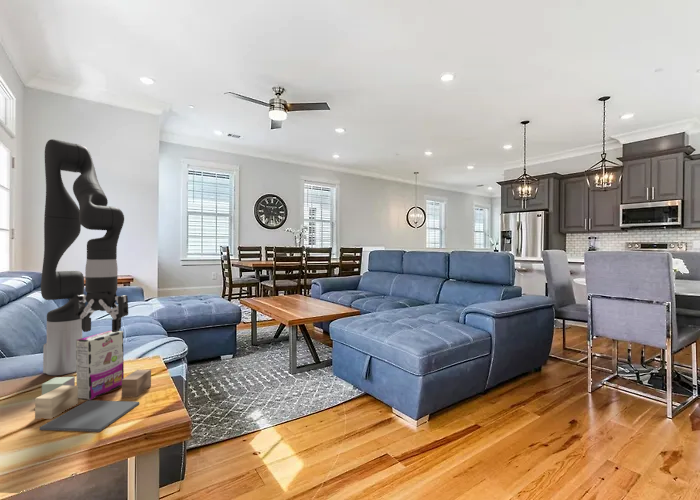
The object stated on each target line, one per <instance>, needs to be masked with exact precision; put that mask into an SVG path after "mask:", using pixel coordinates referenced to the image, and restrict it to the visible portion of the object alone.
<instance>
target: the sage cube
mask: <svg viewBox="0 0 700 500" xmlns="http://www.w3.org/2000/svg"><path fill="white" fill-rule="evenodd" d="M75 379H76V378H75V376H62V377H60V376H58V377H53V378H51V379H49V380H48V381H45V382H43V383H41V395H43V394H46V393H48V392H50V391H52V390H54V389H56V388H58V387H61V386H63V385H71V386H76V385H75V383H76V382H75V381H76V380H75Z"/></svg>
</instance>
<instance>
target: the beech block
mask: <svg viewBox="0 0 700 500" xmlns="http://www.w3.org/2000/svg"><path fill="white" fill-rule="evenodd" d="M76 404H77V405H78V404H79V399H78V386H77V385H75V386H71V385H63V386H61V387H58V388H56V389H54V390H52V391H50V392H48V393H46V394H43V395H42V394H41V395H40V396H37V397H36V398H35V399H34V419H37V420H38V419H41V418H44V419H43V420H45V419H46V420H53V419H54V418H56V417H58V416H60V414H61V415H62V412H63V413H65V412H66V411H68V410H70V409H71V408H73V407H75V406H77V405H76ZM74 405H75V406H74ZM72 406H73V407H72ZM70 407H71V408H70ZM69 408H70V409H69ZM67 409H68V410H67ZM65 410H66V411H65ZM53 417H54V418H53Z"/></svg>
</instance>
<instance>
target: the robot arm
mask: <svg viewBox="0 0 700 500" xmlns="http://www.w3.org/2000/svg"><path fill="white" fill-rule="evenodd" d="M95 169H96V168H95V164H94V162H93V158H92V155H91V153H90V151H89V149H88V148H87V147H86V146H84V145H82V144H78V143H73V142H69V141H64V140H59V139H54V138H53V139H49V140H47V142H46V144H45V146H44V173H45V204H44V215H43V216H44V219H43V220H44V222H43V233H44V234H43V239H44V240H43V241H44V243H43V246H44V248H43V249H44V251H43V261H42V269H41V270H42V271H41V279H40V280H41V281H40V293H41V297H42V299H44V300H46V301H56V300H67V299H69V300H68V302H66V303H65V304H64V305H62V306H60V307H57V308H55V309H52V310H51V309H50V310H49V311H48V312H47V313H46V343H44V344H43V346H42V347H43V348H42V349H43V357H42V359H43V361H42V365H43V366H42V374H46V375H47V376H61V375H67V374H72V373H75V372H76V371H77V365H76V340H78V339H82V338H83V333H87V332H90V331H92V317H91V316H92V315H93V314H94V312H96V311H98V312H99V311H101V312H106V313H107V314H109V315H110V316H111V317H112V319H111V330H112V332H118V331H121V329H122V318H124V317H126V316H129V299H128V298H129V297H128V295H127V294H125V295H117V291H118V271H119V269H118V261H117V254H118V253H117V252H118V251H117V250H118V249H117V248H118V241H119V238H120V235H121V232H122V229H123V227H124V223H125V215H124V212H123V211H122V209H120V208H119V207H116V206H109V205H108V203H109V202H108V198H107V196H106V194H105V192H104V190H103V188H102V187H101V184H100V183H99V180H98V176H97V173H96V170H95ZM62 171H63V172H70V173H79V175H78V176H77V178H75V180H74V182H73V185H72V191H73V194H74V196H75V198H76V200H77V202H78V204H77V203H76V202H75V200H74V199H73V197H72V196H71V195H70V194H69V192H68V190H67V188H66V187H65V184H64V182H63V180H62V179H63V178H62V173H61V172H62ZM82 227H83V228H84V229H87V230H92V231H93V230H94V231H106V232H105V234H104V235H103V236H101V237H96V238H90V239H88V240H87V242H86V263H85V273H84V274H85V275H84V274H83V273H82V272H81V271H80V270H61V271H57V267H58V265H59V263H60V261H61V258H62V257H63V255H64V253H65V252H66V251H67V250H68V249H69V248H70V247H71V246H72V244H74V243H75V241H76V240H77V239H78V237H79V235H80V234H81V229H82ZM84 276H85V277H84ZM84 291H85V292H86V294H84V293H85V292H84ZM86 303H87V304H86Z"/></svg>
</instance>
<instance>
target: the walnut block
mask: <svg viewBox="0 0 700 500" xmlns="http://www.w3.org/2000/svg"><path fill="white" fill-rule="evenodd" d="M151 386H152V369H136V370H134V371H132V373H131V372H130V374H128V375H126V377H124V379H122V386H121V398H137V397H139V396H140V395H141V394H143V393H144V392H145V391H146V390H147V389H148V388H150V387H151Z"/></svg>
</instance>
